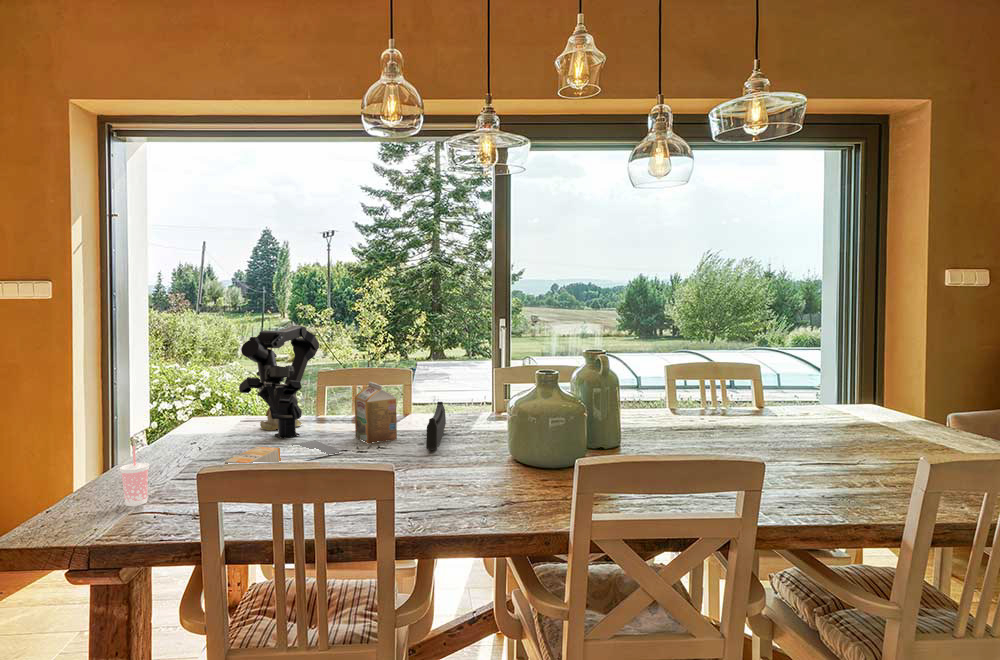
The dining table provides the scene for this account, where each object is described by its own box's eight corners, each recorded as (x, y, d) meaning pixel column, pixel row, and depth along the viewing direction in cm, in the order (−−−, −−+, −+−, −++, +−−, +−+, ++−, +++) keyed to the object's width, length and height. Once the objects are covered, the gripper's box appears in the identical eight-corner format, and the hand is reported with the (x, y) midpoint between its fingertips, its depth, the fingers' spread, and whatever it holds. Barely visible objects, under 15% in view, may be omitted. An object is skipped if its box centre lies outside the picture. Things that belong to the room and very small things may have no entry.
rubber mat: (238, 456, 186) (238, 454, 186) (315, 441, 203) (315, 440, 203) (262, 469, 172) (262, 467, 172) (342, 453, 189) (342, 451, 189)
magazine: (435, 426, 187) (444, 383, 215) (424, 426, 187) (435, 383, 215) (437, 473, 193) (446, 425, 221) (427, 473, 193) (437, 426, 221)
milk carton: (396, 439, 207) (396, 384, 205) (367, 444, 201) (366, 387, 199) (384, 433, 215) (383, 380, 214) (355, 437, 209) (354, 382, 208)
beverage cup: (147, 505, 145) (144, 448, 143) (117, 508, 143) (115, 450, 142) (153, 497, 150) (151, 441, 149) (125, 499, 149) (123, 443, 148)
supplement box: (280, 447, 175) (248, 462, 163) (281, 463, 176) (249, 479, 163) (256, 445, 178) (223, 460, 165) (258, 461, 178) (225, 477, 166)
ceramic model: (291, 421, 234) (290, 396, 233) (307, 426, 227) (306, 399, 226) (256, 428, 223) (255, 401, 223) (272, 433, 216) (271, 405, 215)
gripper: (253, 352, 185) (261, 398, 179) (306, 357, 200) (315, 401, 193) (235, 368, 191) (242, 414, 185) (288, 373, 205) (296, 415, 199)
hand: (275, 410), depth 190 cm, fingers closed
